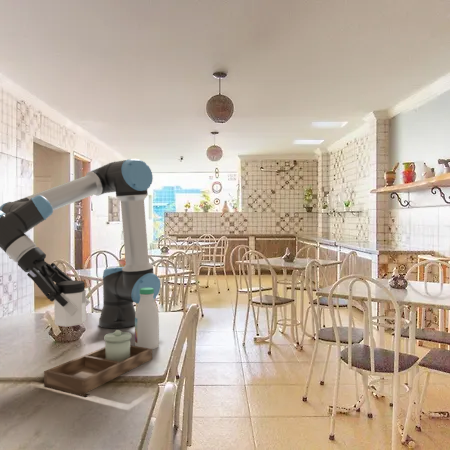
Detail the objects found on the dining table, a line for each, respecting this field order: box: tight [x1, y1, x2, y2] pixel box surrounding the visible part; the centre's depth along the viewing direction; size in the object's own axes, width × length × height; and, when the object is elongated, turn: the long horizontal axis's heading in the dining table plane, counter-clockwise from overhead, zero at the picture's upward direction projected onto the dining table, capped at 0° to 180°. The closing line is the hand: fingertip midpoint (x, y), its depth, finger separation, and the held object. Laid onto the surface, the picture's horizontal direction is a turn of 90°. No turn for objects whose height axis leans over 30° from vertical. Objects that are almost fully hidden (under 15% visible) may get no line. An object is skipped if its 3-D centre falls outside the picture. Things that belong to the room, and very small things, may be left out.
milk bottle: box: [134, 288, 160, 350], centre depth 138 cm, size 8×8×20 cm
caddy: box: [43, 344, 153, 398], centre depth 117 cm, size 27×14×4 cm, turn 154°
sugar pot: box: [103, 329, 132, 362], centre depth 123 cm, size 8×8×10 cm
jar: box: [53, 280, 87, 328], centre depth 125 cm, size 9×8×12 cm
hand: (81, 308), depth 125 cm, fingers closed on jar, 9 cm apart
